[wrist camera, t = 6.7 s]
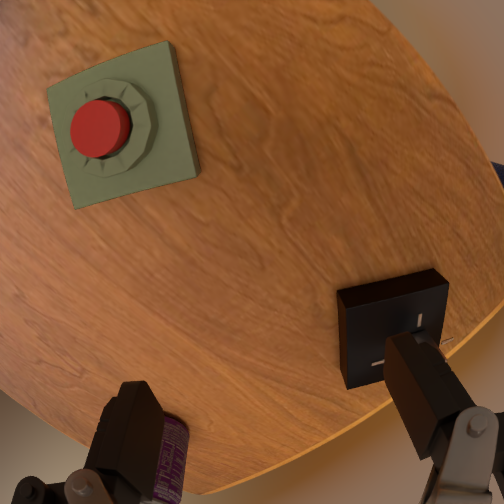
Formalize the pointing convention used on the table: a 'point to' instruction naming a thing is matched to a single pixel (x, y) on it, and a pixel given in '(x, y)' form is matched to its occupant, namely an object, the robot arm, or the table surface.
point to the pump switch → (141, 126)
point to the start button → (99, 128)
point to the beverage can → (171, 464)
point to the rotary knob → (426, 340)
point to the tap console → (386, 320)
